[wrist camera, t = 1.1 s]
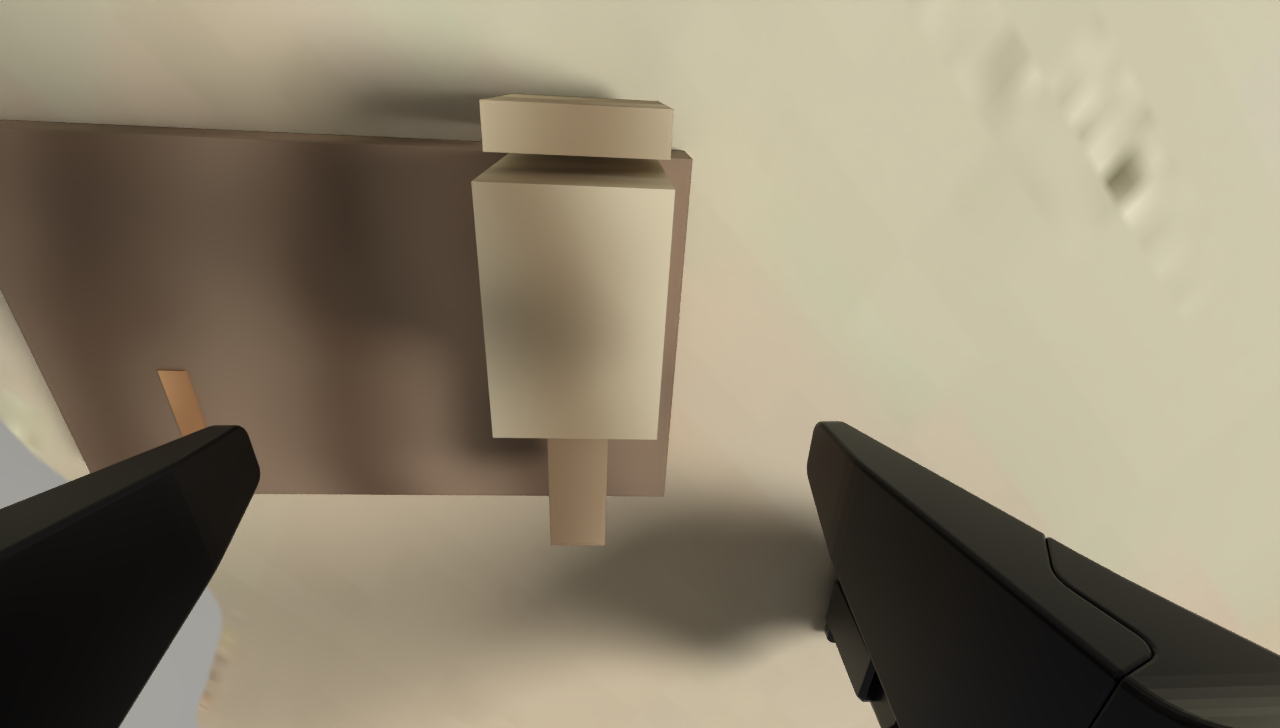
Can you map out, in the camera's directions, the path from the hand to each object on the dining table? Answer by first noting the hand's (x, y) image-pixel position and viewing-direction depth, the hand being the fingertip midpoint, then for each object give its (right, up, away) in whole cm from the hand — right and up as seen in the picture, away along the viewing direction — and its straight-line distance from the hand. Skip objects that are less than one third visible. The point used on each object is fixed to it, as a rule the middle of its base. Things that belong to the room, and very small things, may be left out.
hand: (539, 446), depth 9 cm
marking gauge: (0, +3, +9) cm, 10 cm away
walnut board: (-7, +3, +11) cm, 13 cm away
